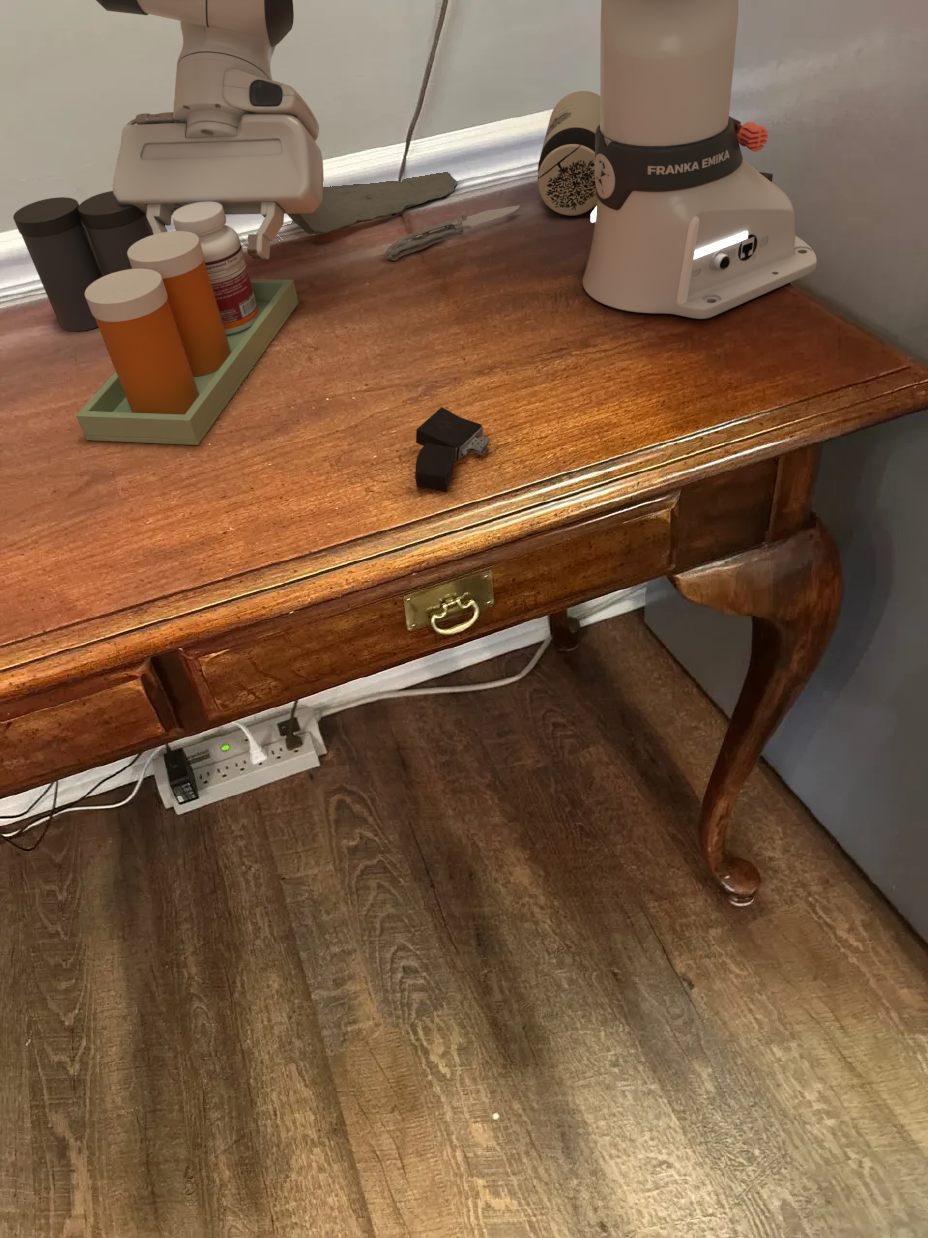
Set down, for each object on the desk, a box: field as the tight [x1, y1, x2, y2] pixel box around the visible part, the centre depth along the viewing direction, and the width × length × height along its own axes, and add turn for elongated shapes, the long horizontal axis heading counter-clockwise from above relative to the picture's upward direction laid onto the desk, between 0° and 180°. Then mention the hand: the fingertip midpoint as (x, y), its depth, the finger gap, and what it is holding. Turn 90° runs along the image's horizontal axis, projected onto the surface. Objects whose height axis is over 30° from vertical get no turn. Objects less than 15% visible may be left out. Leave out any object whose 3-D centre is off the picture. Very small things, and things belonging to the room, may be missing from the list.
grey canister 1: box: [12, 196, 104, 332], centre depth 95 cm, size 6×6×11 cm
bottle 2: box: [85, 269, 199, 415], centre depth 80 cm, size 6×6×11 cm
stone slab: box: [286, 171, 458, 235], centre depth 112 cm, size 22×3×10 cm
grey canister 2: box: [78, 190, 154, 276], centre depth 95 cm, size 6×6×11 cm
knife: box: [385, 204, 521, 262], centre depth 105 cm, size 2×18×3 cm
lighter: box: [414, 406, 490, 493], centre depth 74 cm, size 8×2×5 cm
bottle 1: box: [127, 230, 231, 377], centre depth 85 cm, size 6×6×11 cm
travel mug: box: [537, 90, 600, 217], centre depth 109 cm, size 8×8×18 cm
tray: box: [75, 279, 300, 446], centre depth 88 cm, size 26×11×2 cm, turn 168°
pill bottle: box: [171, 201, 259, 335], centre depth 90 cm, size 6×6×11 cm
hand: (211, 257), depth 89 cm, fingers open, 8 cm apart
